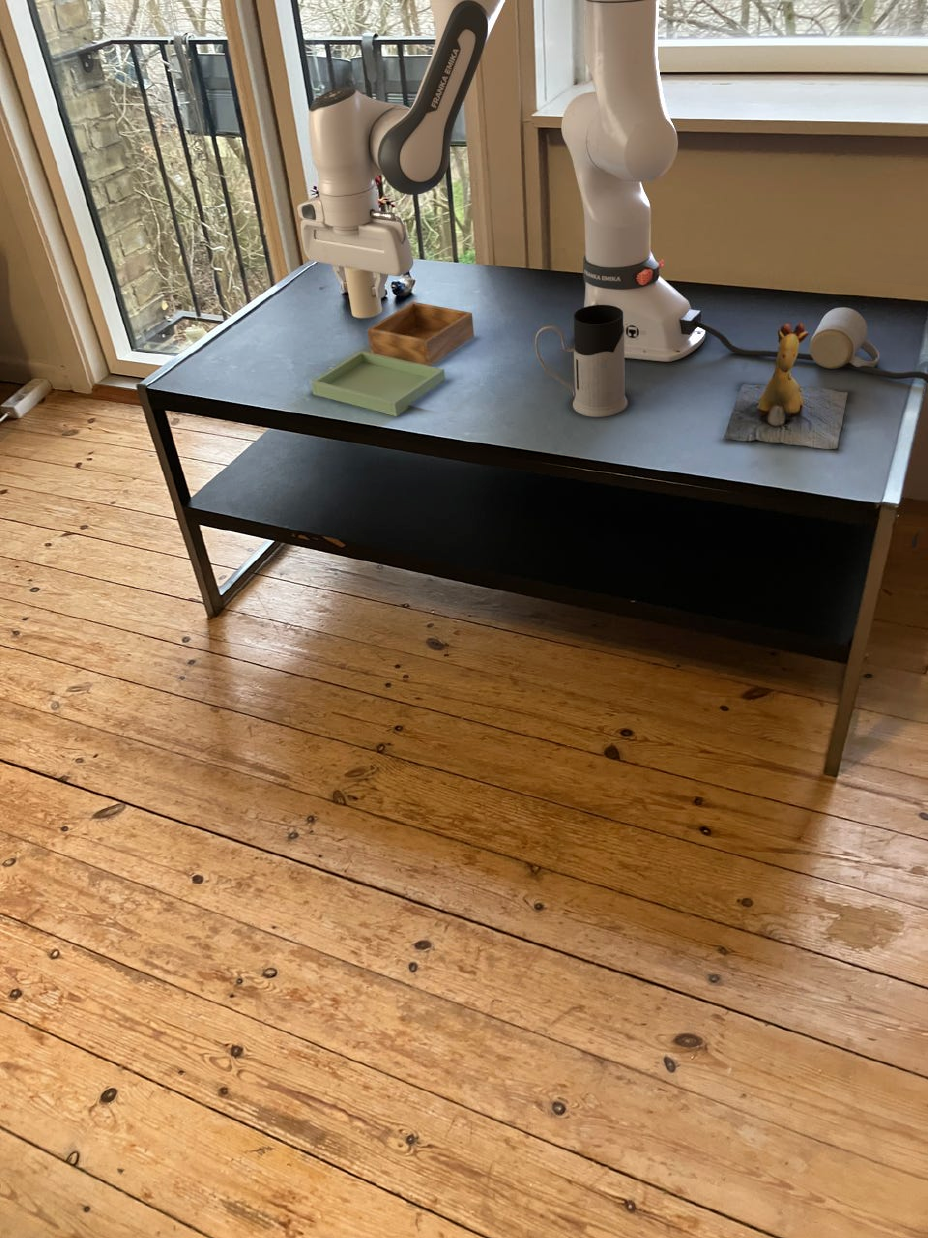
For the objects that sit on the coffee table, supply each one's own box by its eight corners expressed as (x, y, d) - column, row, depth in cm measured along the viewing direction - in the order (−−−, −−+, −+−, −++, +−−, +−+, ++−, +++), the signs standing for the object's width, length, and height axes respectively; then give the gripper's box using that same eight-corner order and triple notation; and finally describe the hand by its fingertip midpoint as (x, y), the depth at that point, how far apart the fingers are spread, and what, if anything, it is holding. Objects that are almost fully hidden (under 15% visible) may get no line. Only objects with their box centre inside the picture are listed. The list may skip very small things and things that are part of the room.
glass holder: (630, 414, 164) (630, 323, 155) (540, 421, 165) (534, 331, 156) (624, 389, 171) (624, 300, 162) (538, 395, 172) (532, 308, 163)
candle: (388, 308, 172) (381, 260, 167) (369, 320, 169) (361, 271, 164) (365, 304, 174) (357, 256, 169) (345, 315, 171) (337, 267, 166)
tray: (445, 382, 179) (444, 369, 178) (396, 416, 171) (394, 403, 170) (363, 362, 189) (361, 350, 187) (313, 394, 181) (310, 381, 179)
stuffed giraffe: (723, 438, 155) (735, 336, 145) (742, 387, 168) (754, 290, 158) (836, 452, 150) (855, 347, 140) (846, 398, 163) (865, 299, 154)
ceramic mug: (804, 368, 170) (810, 323, 165) (817, 347, 176) (823, 303, 171) (871, 378, 166) (879, 332, 161) (882, 356, 171) (891, 311, 166)
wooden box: (474, 339, 192) (471, 312, 189) (430, 369, 184) (426, 342, 181) (416, 327, 199) (412, 301, 196) (371, 355, 191) (367, 329, 188)
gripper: (415, 207, 158) (426, 296, 166) (315, 193, 168) (330, 278, 176) (389, 220, 154) (401, 310, 162) (288, 206, 164) (305, 291, 173)
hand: (363, 293), depth 169 cm, fingers closed on candle, 5 cm apart
